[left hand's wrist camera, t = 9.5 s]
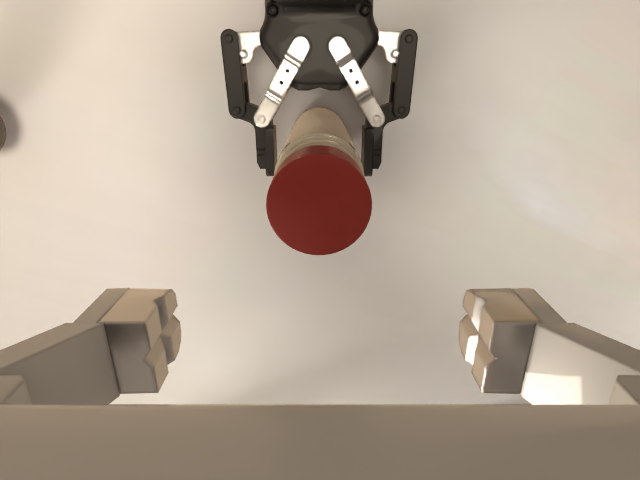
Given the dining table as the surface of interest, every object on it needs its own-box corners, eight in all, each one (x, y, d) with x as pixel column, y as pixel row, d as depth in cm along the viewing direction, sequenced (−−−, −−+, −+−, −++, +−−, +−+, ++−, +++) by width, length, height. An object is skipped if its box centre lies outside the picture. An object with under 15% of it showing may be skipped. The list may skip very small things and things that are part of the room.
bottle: (292, 106, 38) (262, 146, 18) (347, 108, 38) (379, 150, 18) (292, 160, 40) (264, 253, 20) (344, 162, 40) (370, 256, 20)
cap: (271, 143, 20) (265, 152, 17) (369, 146, 20) (376, 155, 17) (272, 235, 21) (266, 253, 19) (362, 237, 21) (367, 257, 19)
